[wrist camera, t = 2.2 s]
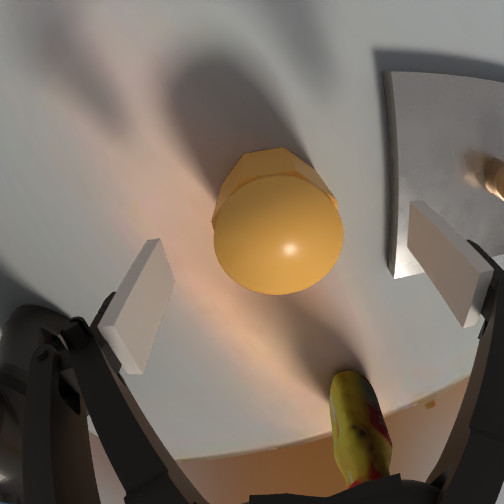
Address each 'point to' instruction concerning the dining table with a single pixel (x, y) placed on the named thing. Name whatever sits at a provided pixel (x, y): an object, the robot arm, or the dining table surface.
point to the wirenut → (276, 223)
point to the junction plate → (445, 158)
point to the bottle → (358, 429)
